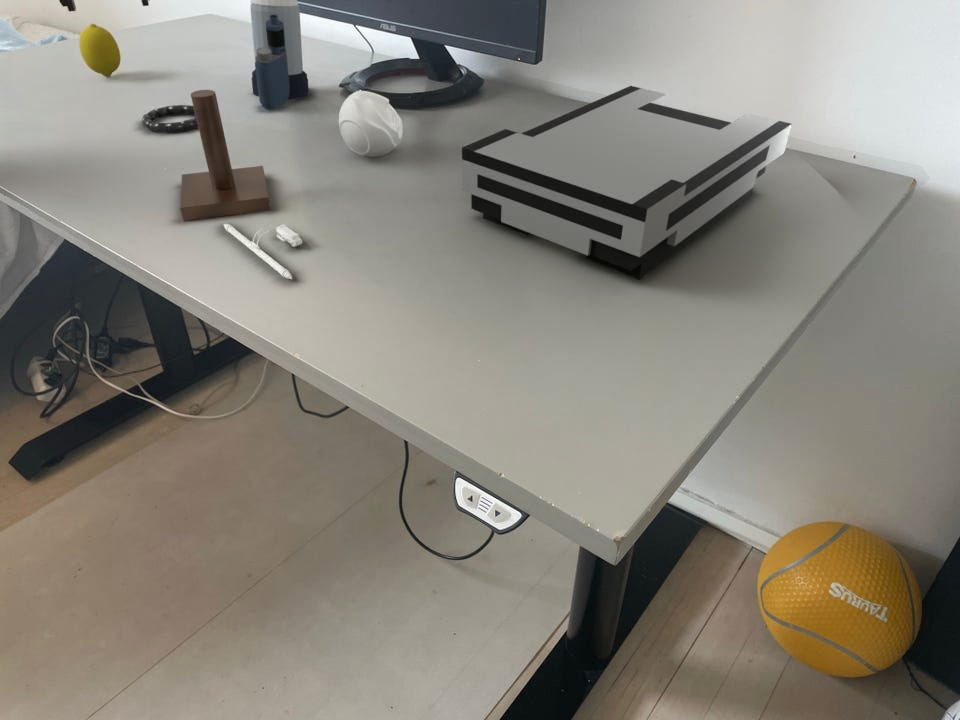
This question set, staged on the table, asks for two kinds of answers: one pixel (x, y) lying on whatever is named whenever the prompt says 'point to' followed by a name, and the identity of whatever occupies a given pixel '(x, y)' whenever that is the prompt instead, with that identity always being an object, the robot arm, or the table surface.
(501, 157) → the game console
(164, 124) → the ring
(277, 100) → the vaping device
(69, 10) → the robot arm
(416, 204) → the table surface
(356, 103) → the white ridged ball
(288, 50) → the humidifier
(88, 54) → the lemon
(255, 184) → the stand
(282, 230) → the picture light
